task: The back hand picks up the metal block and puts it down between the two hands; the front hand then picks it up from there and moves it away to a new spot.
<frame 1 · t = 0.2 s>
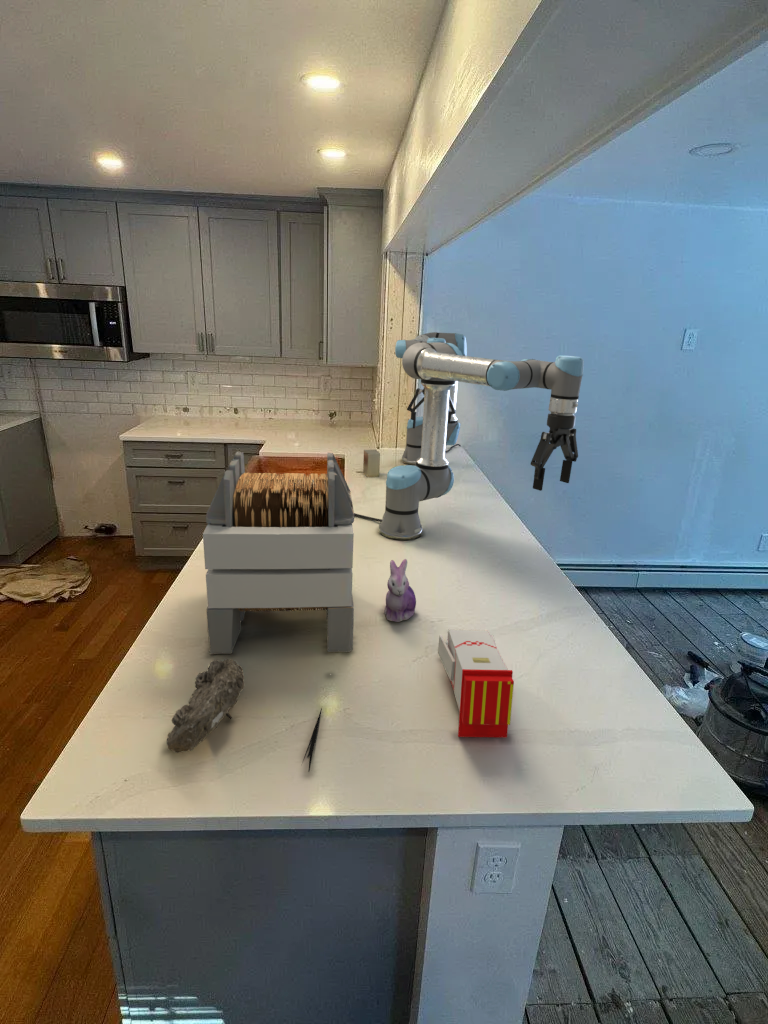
front hand: (551, 485, 166), 28 cm above the counter, tool pointing down, fingers open, 13 cm apart
back hand: (430, 429, 238), 28 cm above the counter, tool pointing down, fingers open, 13 cm apart
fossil: (212, 717, 108), on the counter
toy: (469, 691, 119), on the counter
block: (371, 474, 269), on the counter
record crate: (285, 616, 144), on the counter
figurine: (399, 614, 147), on the counter
feather: (319, 719, 109), on the counter
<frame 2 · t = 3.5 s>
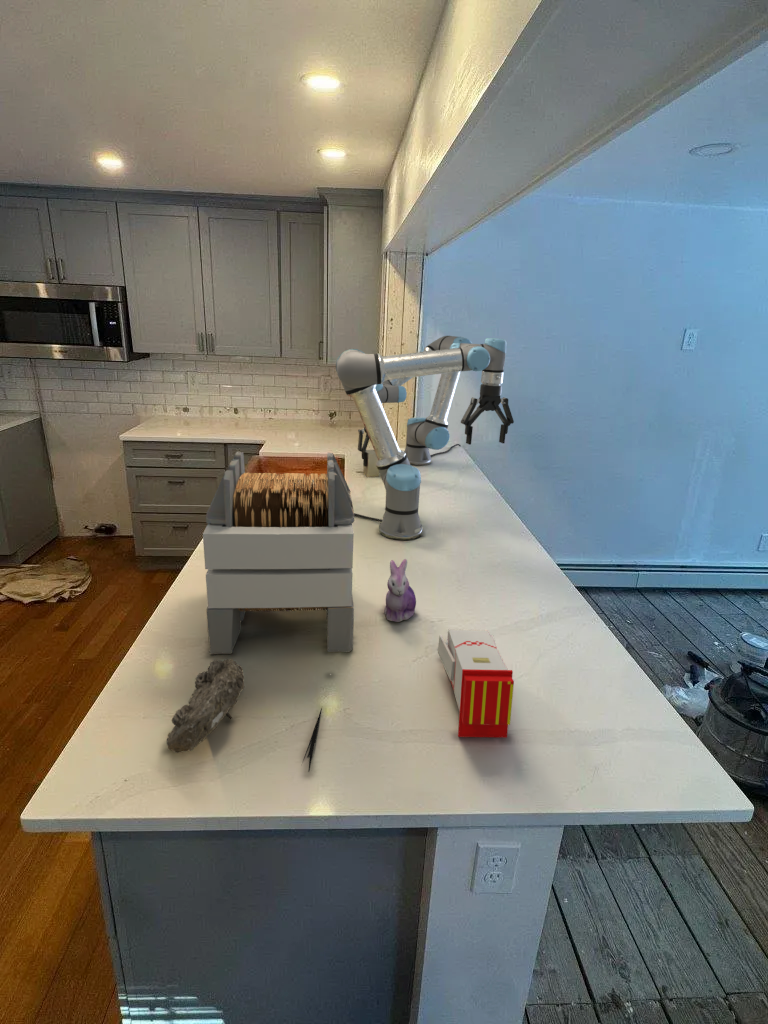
front hand: (485, 443, 207), 30 cm above the counter, tool pointing down, fingers open, 13 cm apart
back hand: (371, 465, 267), 5 cm above the counter, tool pointing down, fingers closed on block, 6 cm apart
block: (371, 474, 269), on the counter, touching back hand
everything else where it was.
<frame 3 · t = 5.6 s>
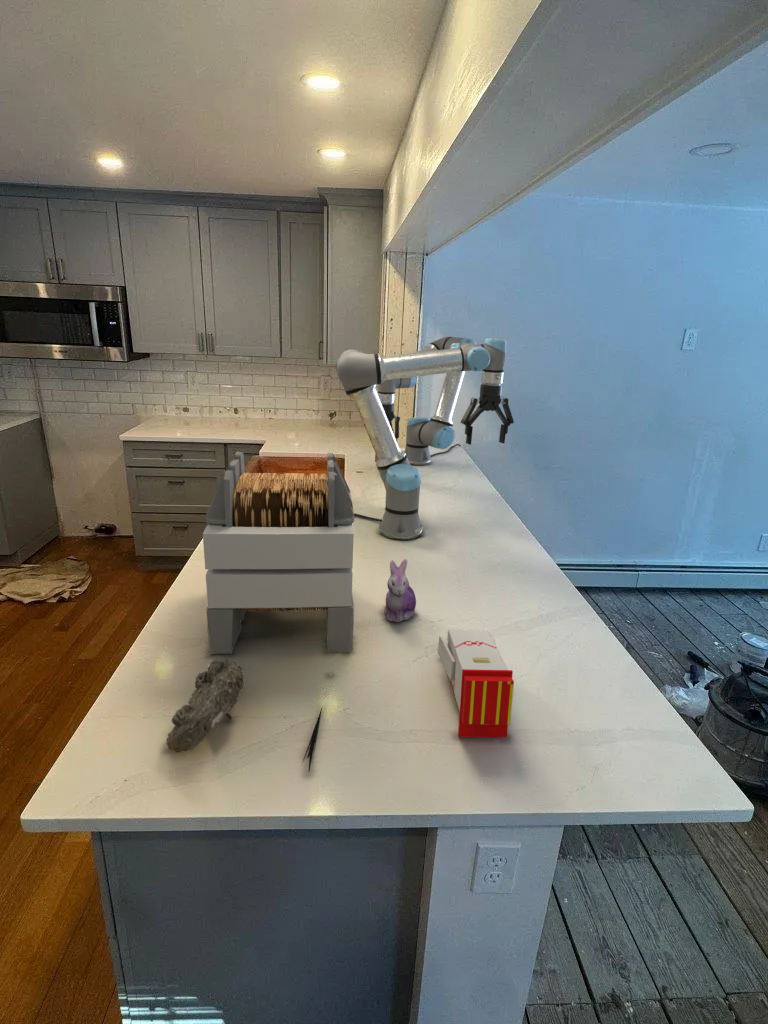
front hand: (485, 443, 207), 30 cm above the counter, tool pointing down, fingers open, 13 cm apart
back hand: (383, 453, 260), 12 cm above the counter, tool pointing down, fingers closed on block, 6 cm apart
block: (383, 463, 261), point 7 cm above the counter, touching back hand
everything else where it was.
when the back hand's fingers open (6 cm above the counter, at t = 7.7 s): block drops 2 cm, on the counter.
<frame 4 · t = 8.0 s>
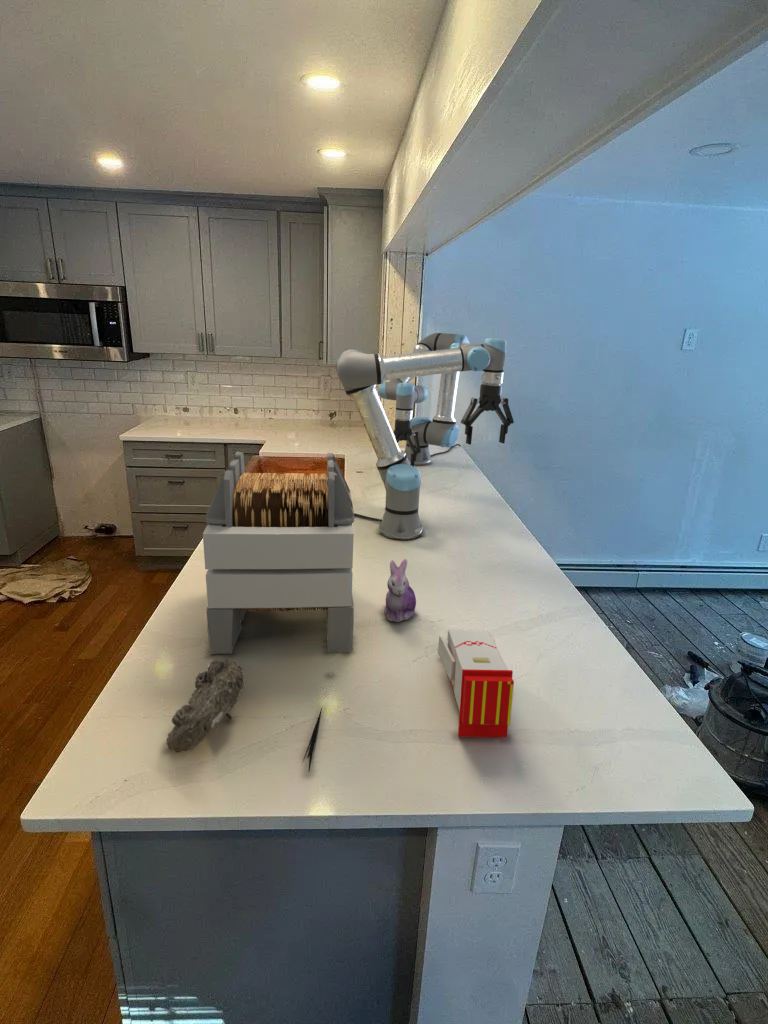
front hand: (485, 443, 207), 30 cm above the counter, tool pointing down, fingers open, 13 cm apart
back hand: (401, 468, 254), 7 cm above the counter, tool pointing down, fingers open, 10 cm apart
block: (400, 483, 257), on the counter
everything else where it was.
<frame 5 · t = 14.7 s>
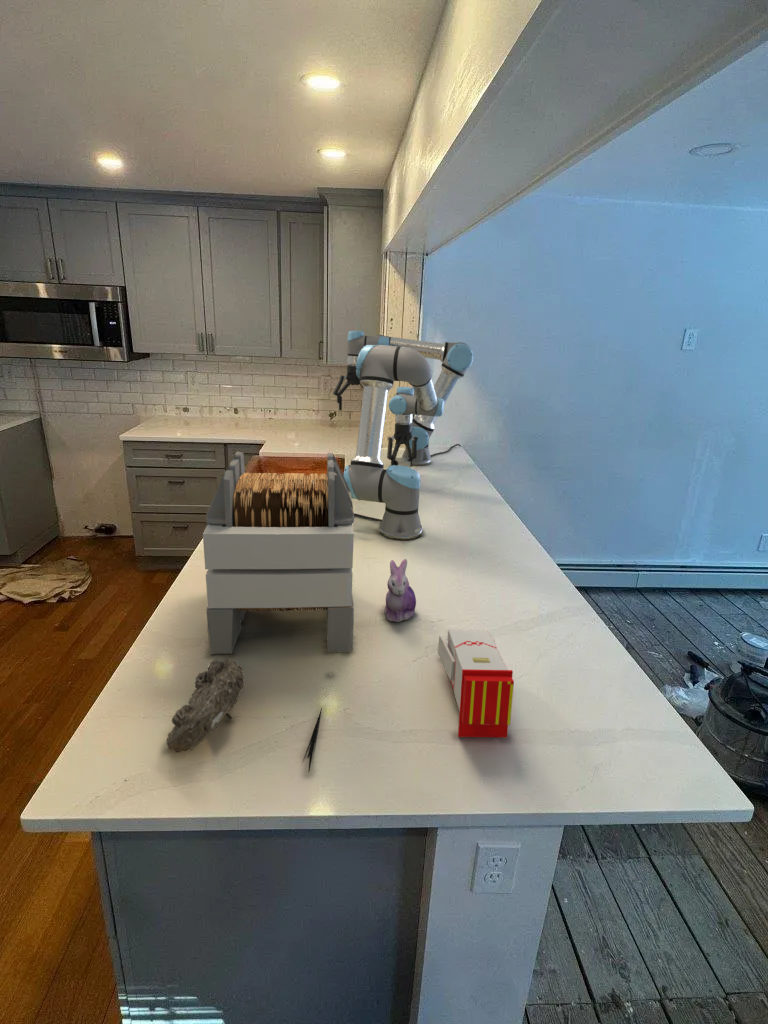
front hand: (400, 474, 255), 5 cm above the counter, tool pointing down, fingers closed on block, 6 cm apart
back hand: (353, 409, 276), 27 cm above the counter, tool pointing down, fingers open, 13 cm apart
block: (400, 483, 257), on the counter, touching front hand
everything else where it was.
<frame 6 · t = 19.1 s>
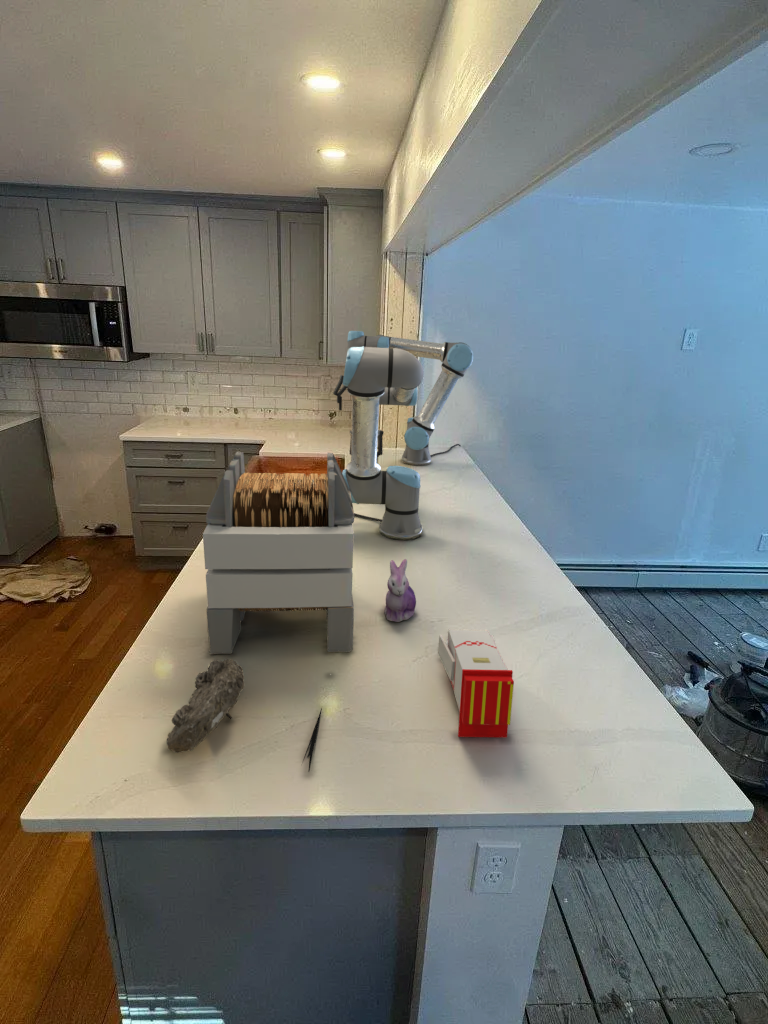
front hand: (365, 472, 231), 11 cm above the counter, tool pointing down, fingers closed on block, 6 cm apart
back hand: (353, 409, 276), 27 cm above the counter, tool pointing down, fingers open, 13 cm apart
block: (365, 483, 233), point 7 cm above the counter, touching front hand
everything else where it was.
when the front hand's fingers open (6 cm above the counter, at t = 23.8 s): block drops 2 cm, on the counter.
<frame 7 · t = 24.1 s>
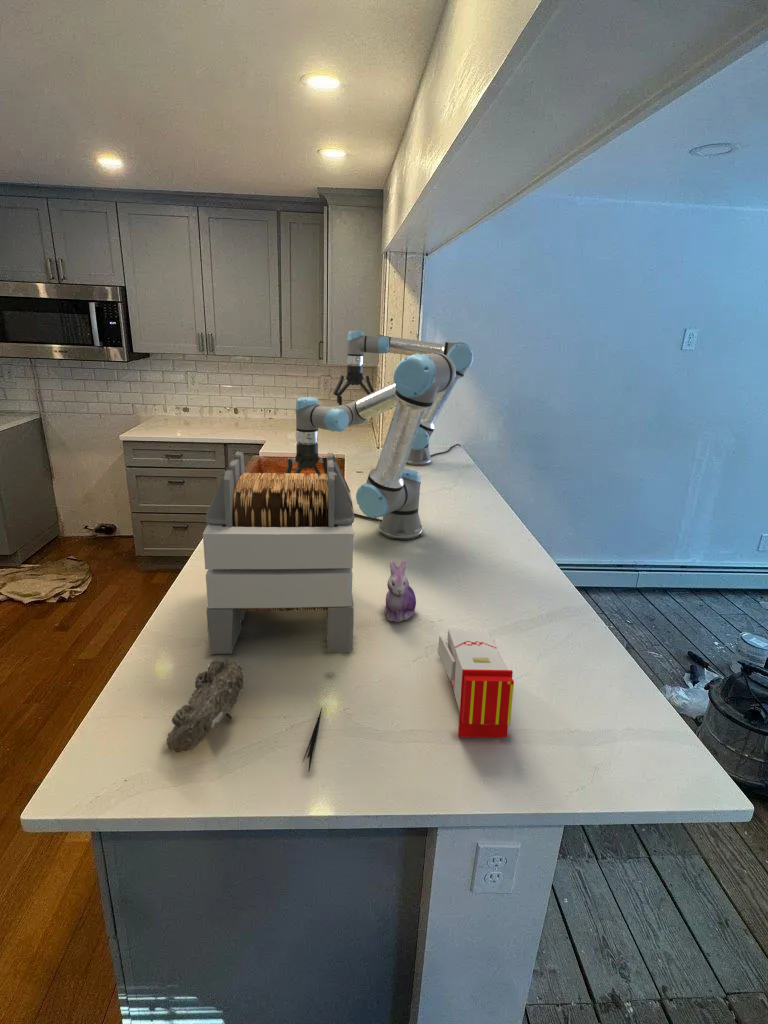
front hand: (307, 502, 205), 7 cm above the counter, tool pointing down, fingers open, 9 cm apart
back hand: (353, 409, 276), 27 cm above the counter, tool pointing down, fingers open, 13 cm apart
block: (307, 521, 208), on the counter
everything else where it was.
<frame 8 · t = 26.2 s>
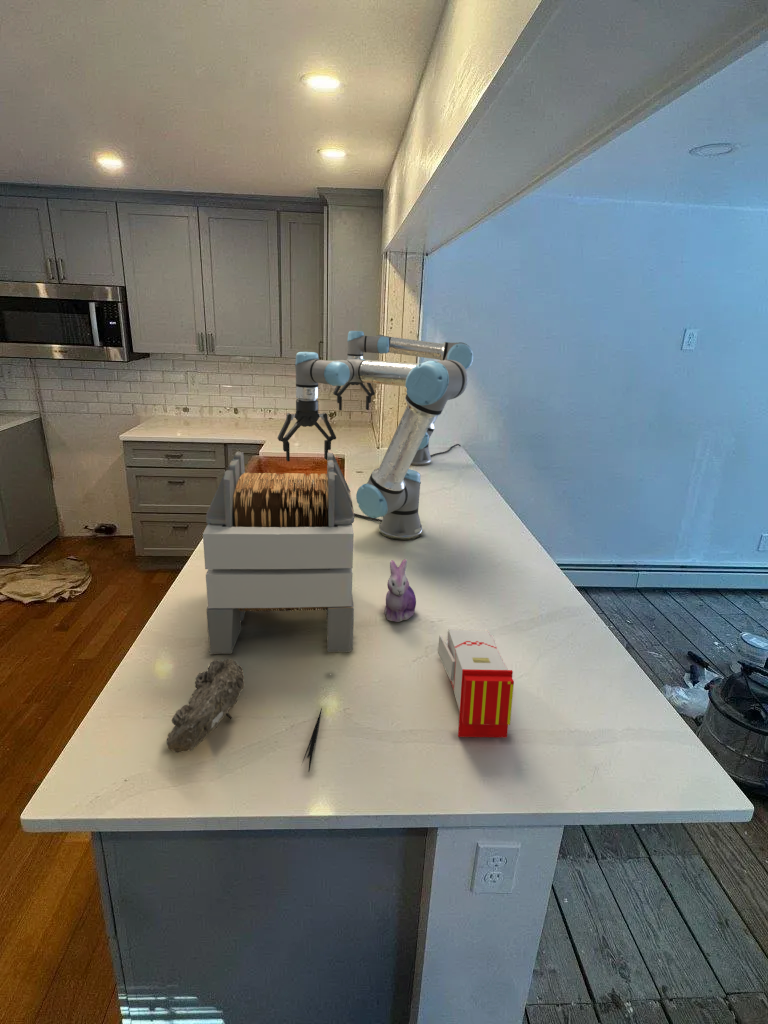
front hand: (307, 459, 200), 23 cm above the counter, tool pointing down, fingers open, 13 cm apart
back hand: (353, 409, 276), 27 cm above the counter, tool pointing down, fingers open, 13 cm apart
nothing on the counter moved.
at the end: block inside the target area (0.2 cm from its centre), on the counter; block tilted 0°; the two hands never held the block at the same time; the front hand is holding nothing; the back hand is holding nothing; block at rest at the end (0.0 cm/s) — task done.
